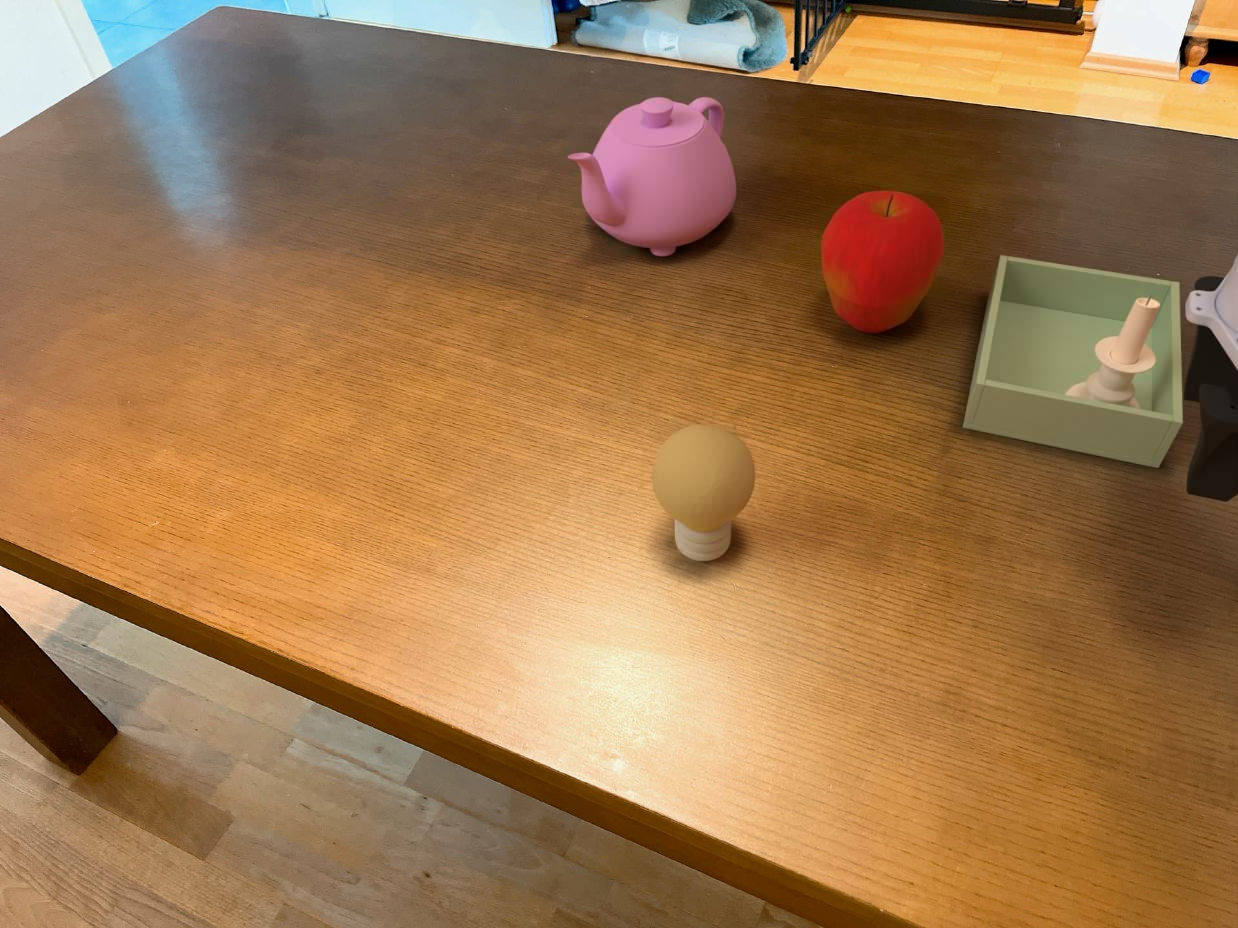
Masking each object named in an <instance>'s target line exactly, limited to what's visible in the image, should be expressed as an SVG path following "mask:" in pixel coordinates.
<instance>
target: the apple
mask: <svg viewBox="0 0 1238 928" xmlns="http://www.w3.org/2000/svg"><path fill="white" fill-rule="evenodd" d="M945 247H946V242H945V236H944V231H943V225H942V221H941V220H940V218H939V216H938V215H937V213H936V211H935V210H934V209H932V207H930V206H929V205H928V204H927V203H926V202H925V201H924V200H922V199H921V198H918V197H917V196H914V195H913V194H910V193H906V192H902V191H895V190H872V191H867V192H864V193H863V192H862V193H860V194H858V195H856V196H854V197H853V198H851V199H849V200H848V201H846V202H845V203H844V204H843V205H842V206H840V207H839V208H838V209H837V210H836V211H835V212H834V214H833V216H832V217H831V219H830V220H829V222H828V224H827V226H826V227H825V229H824V230H823V234H822V238H821V243H820V249H821V273H822V277H823V279H824V283H825V286H826V289H827V293H828V295H829V298H830V301H831V305H832V307H833V308H832V309H833V311H834V313H835V314H836V315H838V316H839V317H840V318H841V319H843V320H844V321H845V322H846V323H847V324H848V325H850V327H852V328H853V329H855V330H857V331H859V332H862V333H867V334H879V333H882V332H885V331H888V330H891V329H893V328H895V327H898V326H899V325H902V324H904V323H905V322H906V321H908V320H909V319H910V317H912V316H913V315H914V314H915V312H916V310H917V309H918V307H919V306H920V304H921V303H922V301H923V300H924V298H925V297H926V295H927V294H928V292H929V291H930V290H931V288H932V285H933V282H934V280H935V277H936V275H937V273H938V270H939V267H940V265H941V262H942V260H943V256H944V253H945V252H944V251H945Z"/></svg>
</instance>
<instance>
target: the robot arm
mask: <svg viewBox="0 0 1238 928" xmlns="http://www.w3.org/2000/svg"><path fill="white" fill-rule="evenodd" d="M1184 305H1185V306H1184V307H1185V318H1186V320H1187V321H1188V322H1190V323H1191V324H1194V325H1196V328H1195V334H1194V340H1193V345H1192V349H1191V353H1190V358H1189V362H1188V365H1187V369H1186V374H1185V380H1184V384H1183V400H1184V401H1188V402H1192V403H1199V414H1200V422H1201V425H1200V432H1199V436H1198V440H1197V443H1196V447H1195V450H1194V452H1193V454H1192V457H1191V458H1192V459H1191V460H1190V463H1189V466H1188V469H1187V475H1186V483H1185V485H1186V493H1187V494H1188V495H1191V496H1196V497H1201V498H1206V499H1209V500H1214V501H1219V502H1222V503H1223V502H1224V503H1227V502H1230V501H1231V500H1232V499H1234V498H1235V497H1237V496H1238V253H1237V254H1236V256H1235V258H1234V261H1233V265H1232V266H1231V268H1230V270H1229V271H1228V272H1227V274H1226V275H1225V277H1223V276H1222V277H1221V276H1214V275H1213V276H1212V275H1207V276H1202V277H1199V278H1197V279H1196V280H1195V282H1194V290H1193V291H1190V293H1189V295H1188V297H1187V299H1186V301H1185V303H1184Z"/></svg>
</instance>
